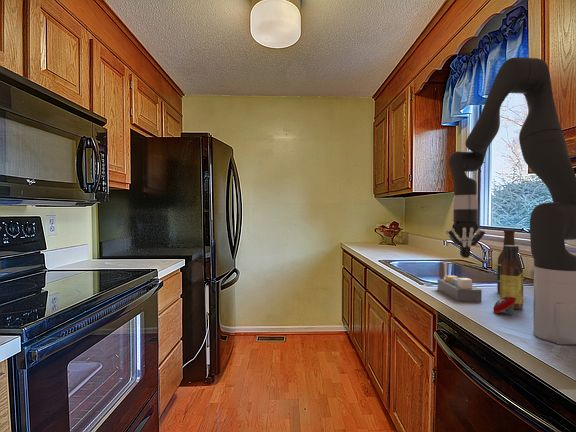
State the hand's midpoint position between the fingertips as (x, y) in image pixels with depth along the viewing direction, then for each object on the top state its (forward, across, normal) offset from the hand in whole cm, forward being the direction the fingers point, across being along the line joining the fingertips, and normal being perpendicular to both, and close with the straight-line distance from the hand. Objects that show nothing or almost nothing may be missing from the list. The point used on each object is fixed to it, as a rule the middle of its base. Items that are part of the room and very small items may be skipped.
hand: (465, 257), depth 118 cm
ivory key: (+11, 0, 0) cm, 11 cm away
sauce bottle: (+15, +10, -10) cm, 20 cm away
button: (+15, +4, -17) cm, 23 cm away
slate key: (+12, 0, +5) cm, 13 cm away
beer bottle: (+15, +20, +8) cm, 26 cm away
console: (+14, 0, +5) cm, 15 cm away
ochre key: (+12, 0, +10) cm, 16 cm away
